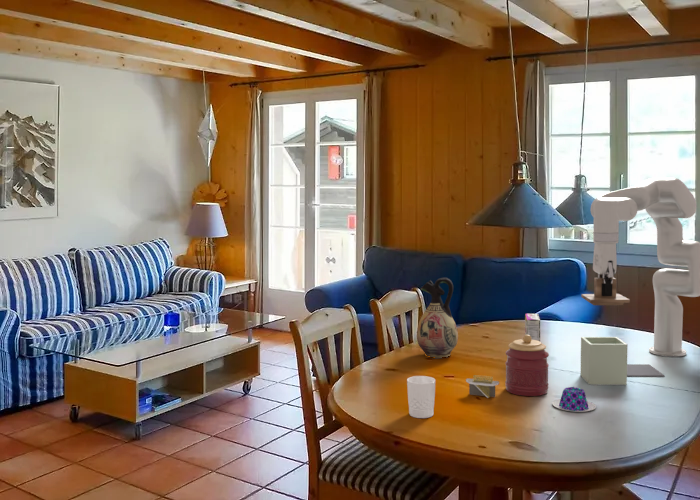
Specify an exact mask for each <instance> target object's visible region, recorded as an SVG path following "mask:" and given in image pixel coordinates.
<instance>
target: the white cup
mask: <svg viewBox="0 0 700 500" xmlns="http://www.w3.org/2000/svg"><path fill="white" fill-rule="evenodd" d="M406 385H407V386H406V387H407V401H408V413H409V416H411V417H412V418H417V419H427V418H432V417H433V416H434V408H435V397H436V379H435V378H434V377H432V376H426V375H413V376H410V377H407V379H406Z"/></svg>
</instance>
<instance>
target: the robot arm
mask: <svg viewBox="0 0 700 500" xmlns="http://www.w3.org/2000/svg"><path fill="white" fill-rule="evenodd" d="M697 207H698V206H697V200H696V197H694V195H693V193H692V192H691V191H690V189H689V187H688V186H687V185H686V184H685V183H684V182H683V181H682V180H681V179H679V178H676V177H652V178H648V179H645V180H643V181H641V182H639V183H638V184H635V185H634V186H630V187H626V188H623V189H617V190H614V191H610V192H609V191H608V192H606V193H603V194H601V195H599V196H597V197H596V198H595V199H593V201H592V202H591V204H590V214H591V216H592V217H593V231H592V232H593V237H592V238H593V241H592V242H593V243H594V247H593V257H592V259H593V260H592V271H594V272H595V273H597V278H603V284H602V296H612V283H613V278H615V277H614V275H616V272H617V266H618V265H617V263H618V262H617V244H618V243H619V236H620V235H619V231H620V230H619V223H620V222H629V221H631V220H633V219H634V218H636V216H637V214H638V212H639V211H643V210H645V212H646V213H647V214H648V216H650V217H651V219H652V220H653V221H654V224H655V227H656V248H657V249H656V253H657V255H656V256H657V261H658V262H659V263H660V264H661V265H664V266H665V265H666V266H674V267H687V269H679V268H677V269H676V268H661V269H660V268H659V269H658V270H656V271H655V272H654V273H653V276H652V286H653V292H654V325H653V326H654V329H653V332H654V333H653V346H650V347H649V348H648V351H649V352H650V354H654V355H656V356H661V357H677V358H678V357H683V356H684V357H685V356H687V351H686V349H684V348H683V346H682V345H683V325H684V324H683V322H684V321H683V320H684V319H683V317H684V306H683V304H682V302H681V299H680V298H679V296H681V297H689V298H696V297H698V298H699V297H700V241H697V240H688V239H687V240H685V239H684V236H683V234H684V233H683V224H682V222H681V221H680V219H689V218H692V217H693V216H694V215H695V214H696V211H697ZM605 278H606V279H605Z"/></svg>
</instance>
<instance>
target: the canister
mask: <svg viewBox="0 0 700 500" xmlns="http://www.w3.org/2000/svg"><path fill="white" fill-rule="evenodd" d="M507 347H508V349H507V350H505V355H506V357H507V359H506V361H505V384H504V385H505V389H506V392H508V393H511V394H513V395H516V396H522V397H523V396H525V397H537V396H542V395H545V394H547V393H548V391H549V366H550V365H549V363H548V358H549V356H550V354H549V352H548V351H546V349H547V345H546V344H543V343H542V342H541V340H540V341H537V340H532V338H531V336H530V335H525V334H524V335H523V337H522V338H521V339H515V340H513V341H512V342H510V343H509V344H508V346H507Z"/></svg>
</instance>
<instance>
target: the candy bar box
mask: <svg viewBox="0 0 700 500" xmlns="http://www.w3.org/2000/svg"><path fill="white" fill-rule="evenodd" d="M524 325H525V327H524V329H525V330H524V332H525V333H524V335H530V336H531V338H532V340H537V341H540V342H541V318H540V316H539V313H525V315H524Z"/></svg>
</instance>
